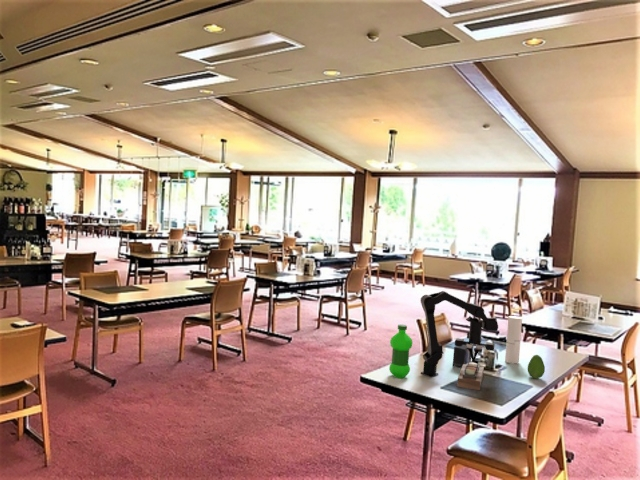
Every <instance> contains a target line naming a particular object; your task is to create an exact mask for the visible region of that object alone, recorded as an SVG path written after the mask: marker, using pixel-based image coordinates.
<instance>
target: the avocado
mask: <svg viewBox="0 0 640 480" xmlns="http://www.w3.org/2000/svg"><path fill="white" fill-rule="evenodd" d="M545 367H546V366H545V364H544V360H543V358H542V357H541V356H540V355H538V354H534V355H532V357H531V358H530V361H529V362H528V364H527V372H528V375H529V376H530V377H531V378H533V379H536V380H537V379H540V378H541V377H543V376H544V375H545V372H546V370H545Z"/></svg>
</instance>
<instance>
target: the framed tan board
mask: <svg viewBox="0 0 640 480" xmlns="http://www.w3.org/2000/svg"><path fill="white" fill-rule="evenodd" d="M467 367H474V366H469V363H467V364H463V366H462V368H460V372H459V374H458V377H457V381H456V382H457V384H456V385H457V386H456V387H457V388H463V389H470V390H475V389H476V390H475V391H480V390H481V386H482V381H483V377H484V370H485V369H484V367H485V366H482V365H481V366H480V364H479V363H477V367H475V368H476V371H475V375H467V374H466V369H467Z"/></svg>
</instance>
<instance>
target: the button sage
mask: <svg viewBox="0 0 640 480" xmlns="http://www.w3.org/2000/svg"><path fill="white" fill-rule="evenodd" d="M466 374H467V375H475V370H473V369H466Z"/></svg>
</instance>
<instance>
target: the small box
mask: <svg viewBox="0 0 640 480" xmlns="http://www.w3.org/2000/svg"><path fill="white" fill-rule="evenodd" d="M466 347H467V346H466V345H462V346H455V345H454V347H453V360H452V367H456V368H460V369H462V366H463V364H467V363H470V362H472V358H471V355H470V352H469V350H468V349H466Z"/></svg>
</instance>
